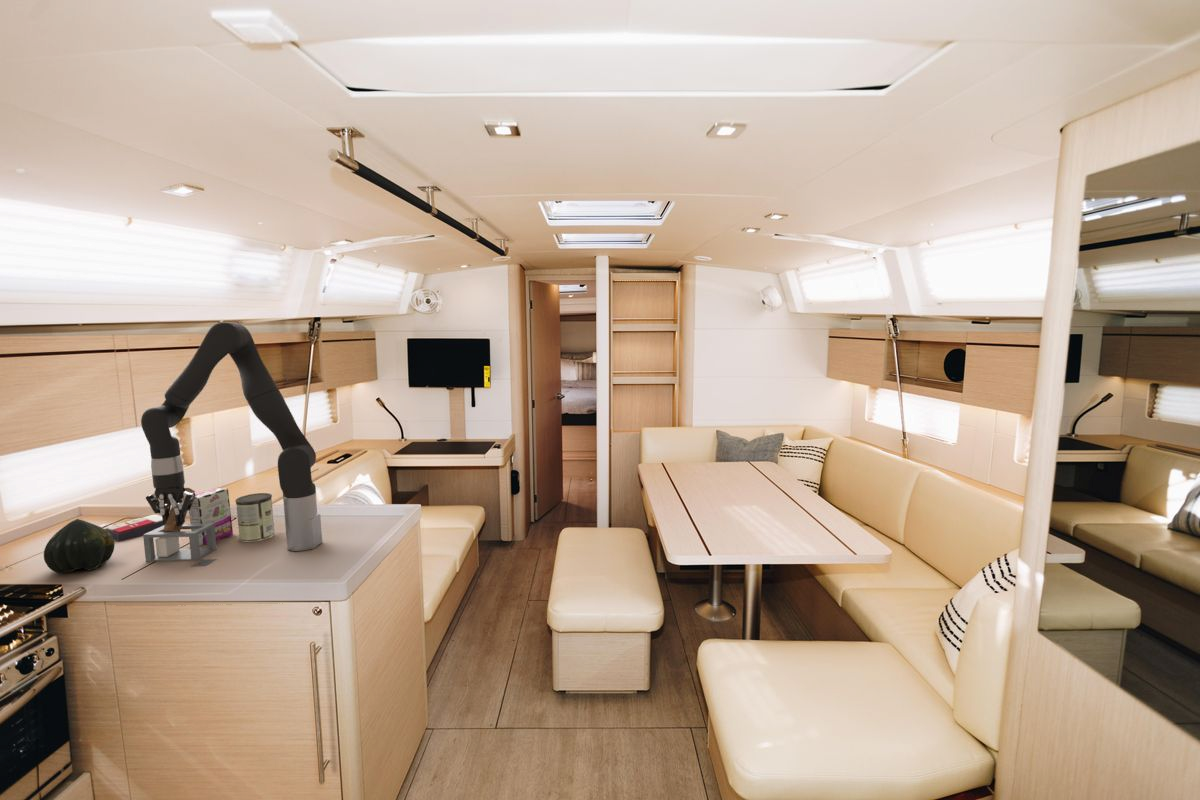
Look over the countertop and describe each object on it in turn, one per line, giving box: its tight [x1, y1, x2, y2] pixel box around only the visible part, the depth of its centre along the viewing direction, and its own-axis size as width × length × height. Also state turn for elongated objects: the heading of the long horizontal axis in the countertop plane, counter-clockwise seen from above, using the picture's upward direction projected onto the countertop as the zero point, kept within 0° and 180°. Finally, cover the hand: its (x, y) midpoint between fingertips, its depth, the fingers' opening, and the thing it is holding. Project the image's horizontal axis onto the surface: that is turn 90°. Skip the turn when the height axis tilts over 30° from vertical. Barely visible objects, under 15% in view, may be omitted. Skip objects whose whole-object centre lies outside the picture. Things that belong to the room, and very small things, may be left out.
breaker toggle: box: [154, 537, 181, 557], centre depth 166 cm, size 3×5×7 cm, turn 2°
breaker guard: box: [142, 523, 218, 563], centre depth 166 cm, size 15×9×9 cm, turn 92°
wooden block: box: [163, 487, 196, 532], centre depth 168 cm, size 3×3×14 cm
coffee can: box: [235, 492, 276, 543], centre depth 182 cm, size 10×10×14 cm
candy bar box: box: [188, 487, 234, 546], centre depth 180 cm, size 11×5×16 cm, turn 168°
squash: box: [43, 518, 116, 574], centre depth 159 cm, size 14×15×15 cm
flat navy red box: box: [104, 513, 164, 542], centre depth 189 cm, size 11×4×15 cm
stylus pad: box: [191, 558, 218, 567], centre depth 161 cm, size 4×5×1 cm
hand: (174, 525), depth 166 cm, fingers closed on wooden block, 3 cm apart
